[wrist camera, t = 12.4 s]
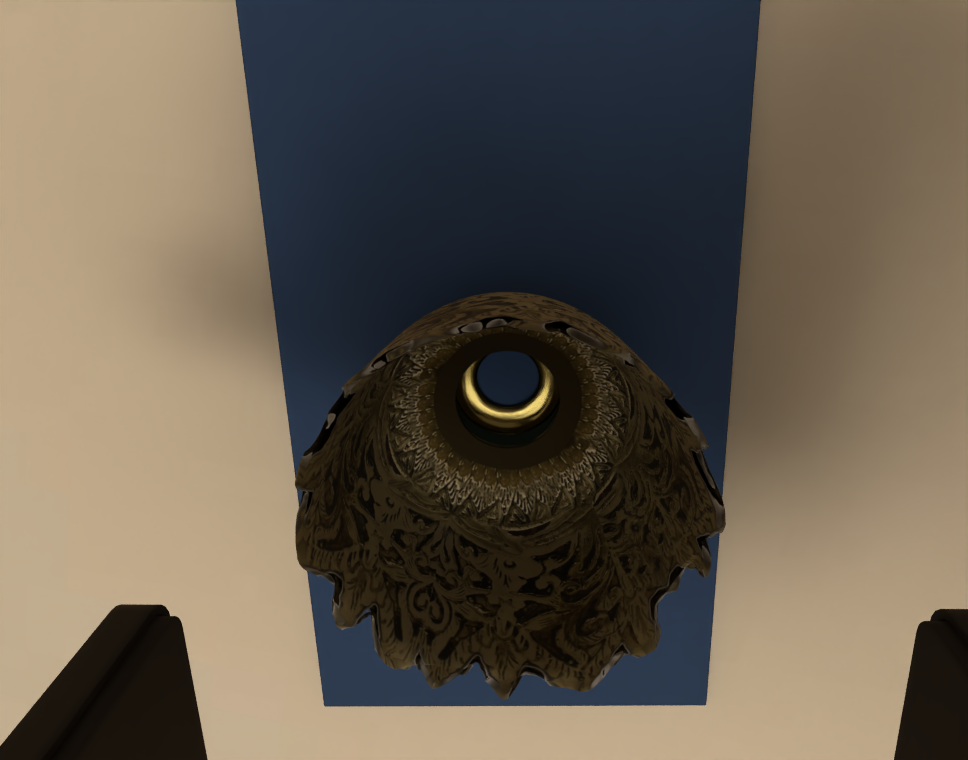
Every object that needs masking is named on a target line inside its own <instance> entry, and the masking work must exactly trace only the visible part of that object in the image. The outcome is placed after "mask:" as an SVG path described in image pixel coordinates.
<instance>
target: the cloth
mask: <svg viewBox="0 0 968 760" xmlns="http://www.w3.org/2000/svg"><path fill="white" fill-rule="evenodd" d="M760 3H761V0H236V7H237V15H238V23H239V31H240V39H241V47H242V55H243V63H244V71H245V79H246V87H247V94H248V102H249V110H250V118H251V126H252V134H253V142H254V150H255V158H256V166H257V174H258V182H259V190H260V198H261V206H262V214H263V222H264V230H265V238H266V246H267V254H268V262H269V270H270V278H271V286H272V294H273V302H274V310H275V318H276V326H277V333H278V341H279V349H280V357H281V365H282V373H283V381H284V389H285V397H286V405H287V413H288V421H289V429H290V437H291V445H292V453H293V461H294V469H295V477H296V476H297V472H298V468H299V464H300V461H301V459H302V456H303V454H304V452H305V451H306V450H308V449H309V448H310V447H311V446H312V444H313V443H314V441H315V440H316V438H317V437H318V435H319V434H320V432H321V429H322V427H323V424H324V423H325V421H326V418H327V415H328V412H329V410H330V409H331V407H332V406H333V405H334V404H335V402H336V401H337V400H338V398H339V397H340V396H341V394H342V393H343V391H344V390H342V387H343V386H344V384H345V383H346V382H347V381H348V380H349V379H351V378H352V377H353V376H354V375H356V374H357V373H358V372H359V371H361V370H362V369H363V368H365V366H366V365H367V364H369V363H370V362H371V361H372V360H373V359H374V358H375V357H376V356H377V355H378V354H379V353H380V352H381V351H382V350H383V349H384V348H385V347H386V346H387V345H388V344H389V343H390V342H392V341H393V340H394V339H395V338H396V337H397V336H398V335H400V334H401V333H402V332H403V331H404V330H405V329H407V328H408V327H409V326H411V325H412V324H413V323H415V322H416V321H418V320H419V319H421V318H422V317H424V316H425V315H427V314H429V313H431V312H433V311H435V310H437V309H438V308H440V307H442V306H444V305H447V304H449V303H452V302H454V301H457V300H460V299H463V298H467V297H471V296H474V295H480V294H486V293H496V292H519V293H529V294H535V295H540V296H544V297H548V298H551V299H555V300H558V301H561V302H563V303H565V304H568V305H570V306H573V307H575V308H577V309H578V310H580V311H582V312H584V313H586V314H587V315H589V316H591V317H593V318H594V319H596V320H597V321H599V322H600V323H601V324H603V325H604V326H606V327H607V328H608V329H609V330H611V331H612V332H613V333H614V334H615V335H616V336H617V337H619V338H620V339H621V340H622V341H623V342H624V343H625V344H626V345H627V346H628V347H629V348H630V349H631V350H632V351H633V352H634V353H635V354H636V355H637V356H638V357H639V358H640V359H641V360H642V361H643V362H644V363H645V364H646V365H647V366H648V367H649V368H650V369H651V370H652V371H653V372H654V373H655V374H656V375H657V376H658V377H659V378H660V379H661V380H662V381H663V382H664V383H665V384H666V385H667V386H668V387H669V388H670V390H671V391H672V392H673V393H674V394H675V396H674V398H675V399H676V400H677V401H678V403H679V404H680V405H681V406H682V407H683V408H684V410H685V411H686V412H688V413H689V414H690V415H691V416H693V418H694V419H695V421H696V423H697V424H698V426H699V428H700V430H701V431H702V433H703V435H704V437H705V439H706V441H707V443H708V445H709V447H707V449H702V451H703V454H704V457H705V460H706V462H707V465H708V467H709V470H710V472H711V474H712V476H713V478H714V480H715V482H716V484H717V486H718V489H719V492H720V494H721V497H722V494H723V481H724V468H725V455H726V442H727V429H728V416H729V403H730V390H731V378H732V365H733V352H734V339H735V326H736V313H737V300H738V287H739V274H740V261H741V248H742V235H743V222H744V209H745V196H746V184H747V171H748V158H749V145H750V132H751V119H752V106H753V93H754V80H755V67H756V54H757V41H758V28H759V15H760ZM538 381H539V375H538V370H537V367H536V365H535V363H534V362H533V361H532V359H531V358H530V357H529V356H527V355H526V354H523V353H520V352H514V351H501V352H495V353H492V354H490V355H488V356H487V357H486V358H485V359H484V360H483V362H482V363H481V365H480V367H479V369H478V374H477V382H478V386H479V389H480V391H481V392H482V394H483V395H484V396H485V397H486V398H487V399H488V400H489V401H490V402H492V403H494V404H496V405H499V406H504V407H512V406H517V405H520V404H522V403H524V402H526V401H527V400H528V399H529V398H530V397H531V396H532V395H533V394H534V392H535V391H536V389H537V386H538ZM297 493H298V501H299V506H300V503H301V497H302V493H303V491H300V490H299V489H297ZM707 542H708V546H709V549H710V553H711V569H710V572H709V574H708V575H707V577H706V578H703V577H702V576H700V575H699V573H698V571H697V570H696V569H695V568H693V570H691V569H688V568H686V569H685V570H684V573H683V574H682V575H681V581H680V584H679V587H678V589H677V591H676V592H672V593H668V594H665V596H664V597H663V599H662V600H661V601H660V602H659V604H658V622H659V626H660V627H661V637H660V640H659V643H658V646H657V648H656V650H654V651H653V652H651V653H649V654H647V655H645V656H643V657H640V658H636V657H635V656H633V655H628V654H625V655H624V656H623V657H622V658H621V659H620V661H619V662H618V663H617V664H616V665H613V666H612V668H611V669H610V670H609V671H608V673H607V674H606V675H605V677H604V678H603V679H602V680H601V681H600V682H599V683H598V684H597V685H596V686H595V687H594V688H593V689H591V690H588V691H585V692H579V691H577V690H573V689H568V688H562V687H554V686H550V685H549V684H548V683H547V682H546V681H545V680H543V678H540V677H538V676H534V675H527V674H525V675H524V676H522V678H521V680H520V682H519V684H518V686H517V687H516V689H515V690H514V691H513V693H512V694H511V696H510V697H509V698H508V699H506V700H503V699H501V698H500V697H499V696H498V695H497V694H496V692H495V691H494V689H493V688H492V687H491V686H490V684H489V683H487V682H486V681H485V676H484V674H483V672H482V671H481V669H480V666H479V664H478V663H474V664H473V666H472V668H471V669H470V670H469V672H468V673H467V674H465V675H458V676H457V677H455V678H454V679H452V680H451V681H450V682H448V683H447V684H444V685H442V686H440V687H439V688H435V689H432V688H431V686H430V685H429V684H428V683H427V681H426V678H425V676H424V674H423V672H422V670H417V665H414V666H411V667H410V668H409V669H397V670H396V669H393V668H391V667H389V666H387V665H386V664H385V663H384V662H383V660H382V659H381V658H380V657H379V655H378V653H377V652H376V650H375V647H374V641H373V636H372V629H371V615H369V616H368V617H367V618H365V619H363V620H362V622H361V623H360V624H357V625H355V626H354V627H352V628H345V629H344V630H341V629H339V628H338V627H337V626H336V624H335V620H334V617H333V615H332V603H331V600H332V598H333V594H334V584H332V583H331V582H329V581H328V580H327V579H326V578H324V577H322V576H316V575H314V574H312V573H310V572H308V571H307V572H308V580H309V588H310V596H311V604H312V612H313V620H314V628H315V636H316V644H317V652H318V660H319V668H320V676H321V684H322V692H323V700H324V706H606V705H706V701H707V688H708V675H709V662H710V649H711V636H712V623H713V610H714V597H715V584H716V571H717V559H718V546H719V533H717V534H716V535H715V536H713V537H711V538H708V539H707ZM367 612H370V610H369V609H367V610H366V611H365V612H364V613H363V615H364V614H365V613H367Z"/></svg>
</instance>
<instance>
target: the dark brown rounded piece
mask: <svg viewBox="0 0 968 760" xmlns="http://www.w3.org/2000/svg"><path fill="white" fill-rule="evenodd" d="M501 351H514V352H520V353H523V354H526V355H527V356H529V357H530V358H531V359H532V361H533V362H534V363H535V365H536V367H537V370H538V375H539V381H538V386H537V389H536V391H535V392H534V394H533V395H532V396H531V397H530V398H529V399H528V400H527V401H526V402H524V403H522V404H520V405H517V406H512V407H504V406H499V405H496V404H494V403H492V402H490V401H489V400H488V399H487V398H486V397H485V396H484V395H483V394H482V392H481V391H480V389H479V386H478V382H477V374H478V369H479V367H480V365H481V363H482V362H483V360H484V359H485V358H486V357H487V356H488V355H490V354H492V353H495V352H501ZM342 390H344V391H343V393H342V394H341V396H340V397H339V398H338V400H337V401H336V402H335V404H334V405H333V406H332V407H331V409H330V410H329V412H328V415H327V418H326V421H325V423H324V424H323V427H322V429H321V432H320V434H319V435H318V437H317V438H316V440H315V441H314V443H313V444H312V446H311V447H310V448H309V449H308V450H306V451H305V452H304V454H303V456H302V459H301V461H300V464H299V468H298V472H297V476H296V480H295V486H296V488H297V489H299V490H300V491H303V493H302V497H301V503H300V506H299V510H298V513H297V519H296V550H297V559H298V561H299V564H300V565H301V566H302V568H304V569H305V570H306V571H308V572H310V573H312V574H314V575H316V576H322V577H324V578H326V579H327V580H328V581H329V582H331V583H332V584H334V594H333V598H332V600H331V603H332V615H333V617H334V620H335V624H336V626H337V627H338V628H339V629H341V630H344V629H345V628H352V627H354V626H355V625H357V624H360V623H361V622H362V620H363V619H365V618H367V617H368V616H369V615H371V629H372V636H373V641H374V647H375V650H376V652H377V653H378V655H379V657H380V658H381V659H382V660H383V662H384V663H385V664H386V665H387V666H389V667H391V668H393V669H396V670H397V669H409V668H410V667H411V666H414V665H417V670H422V672H423V674H424V676H425V678H426V681H427V683H428V684H429V685H430V686H431V688H432V689H435V688H439V687H440V686H442V685H444V684H447V683H448V682H450V681H451V680H452V679H454V678H455V677H457V676H458V675H465V674H467V673H468V672H469V670H470V669H471V668H472V666H473V664H474V663H478V664H479V666H480V669H481V671H482V672H483V674H484V676H485V681H486V682H487V683H489V684H490V686H491V687H492V688H493V689H494V691H495V692H496V694H497V695H498V696H499V697H500V698H501V699H503V700H506V699H508V698H509V697H510V696H511V694H512V693H513V691H514V690H515V689H516V687H517V686H518V684H519V682H520V680H521V678H522V676H524V675H525V674H527V675H534V676H538V677H540V678H543V680H545V681H546V682H547V683H548V684H549V685H550V686H554V687H562V688H568V689H573V690H577V691H579V692H585V691H588V690H591V689H593V688H594V687H595V686H596V685H597V684H598V683H599V682H600V681H601V680H602V679H603V678H604V677H605V675H606V674H607V673H608V671H609V670H610V669H611V668H612V666H613V665H616V664H617V663H618V662H619V661H620V659H621V658H622V657H623V656H624V655H625V654H628V655H633V656H635V657H636V658H640V657H643V656H645V655H647V654H649V653H651V652H653V651H654V650H656V648H657V646H658V643H659V640H660V637H661V627H660V626H659V622H658V604H659V602H660V601H661V600H662V599H663V597H664V596H665V594H668V593H672V592H676V591H677V589H678V587H679V584H680V581H681V575H682V574H683V573H684V570H685V569H686V568H688V569H691V570H693V568H695V569H696V570H697V571H698V573H699V575H700V576H702V577H703V578H706V577H707V575H708V574H709V572H710V569H711V553H710V549H709V546H708V542H707V539H708V538H711V537H713V536H715V535H716V534H717V533H722V532H723V530H724V528H725V524H726V523H725V508H724V504H723V500H722V497H721V494H720V492H719V489H718V486H717V484H716V482H715V480H714V478H713V476H712V474H711V472H710V470H709V467H708V465H707V462H706V460H705V457H704V454H703V451H702V449H707V447H709V445H708V443H707V441H706V439H705V437H704V435H703V433H702V431H701V430H700V428H699V426H698V424H697V423H696V421H695V419H694V418H693V416H691V415H690V414H689V413H688V412H686V411H685V410H684V408H683V407H682V406H681V405H680V404H679V403H678V401H677V400H676V399H675V398H674V396H675V394H674V393H673V392H672V391H671V390H670V388H669V387H668V386H667V385H666V384H665V383H664V382H663V381H662V380H661V379H660V378H659V377H658V376H657V375H656V374H655V373H654V372H653V371H652V370H651V369H650V368H649V367H648V366H647V365H646V364H645V363H644V362H643V361H642V360H641V359H640V358H639V357H638V356H637V355H636V354H635V353H634V352H633V351H632V350H631V349H630V348H629V347H628V346H627V345H626V344H625V343H624V342H623V341H622V340H621V339H620V338H619V337H617V336H616V335H615V334H614V333H613V332H612V331H611V330H609V329H608V328H607V327H606V326H604V325H603V324H601V323H600V322H599V321H597V320H596V319H594V318H593V317H591V316H589V315H587V314H586V313H584V312H582V311H580V310H578V309H577V308H575V307H573V306H570V305H568V304H565V303H563V302H561V301H558V300H555V299H551V298H548V297H544V296H540V295H535V294H529V293H519V292H496V293H486V294H480V295H474V296H471V297H467V298H463V299H460V300H457V301H454V302H452V303H449V304H447V305H444V306H442V307H440V308H438V309H437V310H435V311H433V312H431V313H429V314H427V315H425V316H424V317H422V318H421V319H419V320H418V321H416V322H415V323H413V324H412V325H411V326H409V327H408V328H407V329H405V330H404V331H403V332H402V333H401V334H400V335H398V336H397V337H396V338H395V339H394V340H393V341H392V342H390V343H389V344H388V345H387V346H386V347H385V348H384V349H383V350H382V351H381V352H380V353H379V354H378V355H377V356H376V357H375V358H374V359H373V360H372V361H371V362H370V363H369V364H367V365H366V366H365V368H363V369H362V370H361V371H359V372H358V373H357V374H356V375H354V376H353V377H352V378H351V379H349V380H348V381H347V382H346V383H345V384H344V386H343V387H342ZM367 609H369V610H370V612H367V613H365V614H364V615H363V613H364V612H365V611H366V610H367Z"/></svg>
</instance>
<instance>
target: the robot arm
mask: <svg viewBox="0 0 968 760" xmlns="http://www.w3.org/2000/svg"><path fill="white" fill-rule="evenodd" d="M0 760H207V755H206V749H205V744H204V739H203V733H202V728H201V723H200V717H199V712H198V707H197V701H196V696H195V691H194V685H193V680H192V675H191V669H190V664H189V659H188V653H187V648H186V643H185V637H184V632H183V627H182V623H181V621H180V619H179V618H178V617H176V616H170V614H169V611H168V610H167V608H166V607H165V606H163V605H118V606H116V607H115V608H114V609H112V610H111V611H110V613H109V614H108V615H107V616H106V618H105V619H104V620H103V621H102V622H101V624H100V625H99V626H98V627H97V629H96V630H95V631H94V632H93V633H92V635H91V636H90V637H89V638H88V640H87V641H86V642H85V643H84V644H83V646H82V647H81V648H80V649H79V651H78V652H77V653H76V654H75V655H74V657H73V658H72V659H71V660H70V662H69V663H68V664H67V665H66V666H65V668H64V669H63V670H62V671H61V673H60V674H59V675H58V676H57V677H56V679H55V680H54V681H53V682H52V684H51V685H50V686H49V687H48V688H47V690H46V691H45V692H44V693H43V695H42V696H41V697H40V698H39V699H38V701H37V702H36V703H35V704H34V706H33V707H32V708H31V709H30V710H29V712H28V713H27V714H26V715H25V717H24V718H23V719H22V720H21V721H20V723H19V724H18V725H17V726H16V728H15V729H14V730H13V731H12V732H11V734H10V735H9V736H8V737H7V739H6V740H5V741H4V742H3V743H2V745H1V746H0ZM894 760H968V609H939V610H937V611H935V612H934V614H933V615H932V617H931V620H930V621H924V622H921V623H920V624H919V626H918V629H917V632H916V638H915V644H914V649H913V655H912V661H911V666H910V672H909V678H908V683H907V689H906V695H905V700H904V706H903V712H902V717H901V723H900V729H899V734H898V740H897V745H896V751H895V757H894Z"/></svg>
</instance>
